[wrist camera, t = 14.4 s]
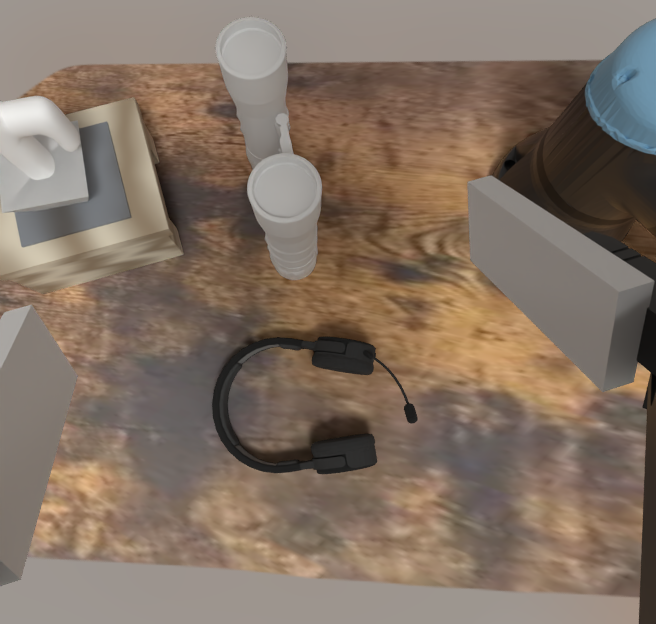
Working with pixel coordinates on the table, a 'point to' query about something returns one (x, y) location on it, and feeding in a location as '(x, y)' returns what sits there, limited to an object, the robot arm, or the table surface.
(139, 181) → the bridge shelf
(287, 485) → the table surface
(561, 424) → the table surface
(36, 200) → the figurine
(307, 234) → the binoculars
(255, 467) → the headset
